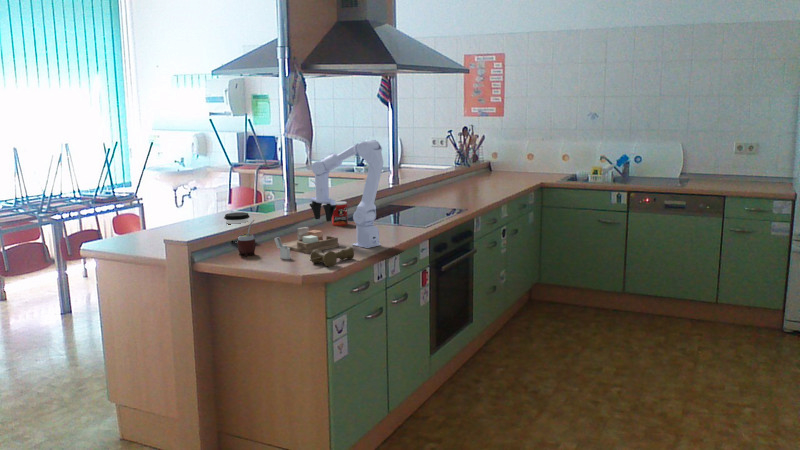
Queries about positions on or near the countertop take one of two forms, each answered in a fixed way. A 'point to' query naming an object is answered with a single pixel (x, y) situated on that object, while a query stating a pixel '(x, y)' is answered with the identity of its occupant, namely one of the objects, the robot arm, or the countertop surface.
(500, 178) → the countertop surface
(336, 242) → the lane rack
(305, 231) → the tethered block
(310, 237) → the block
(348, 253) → the kendama
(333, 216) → the canned food
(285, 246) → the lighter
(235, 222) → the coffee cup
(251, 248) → the mate gourd
